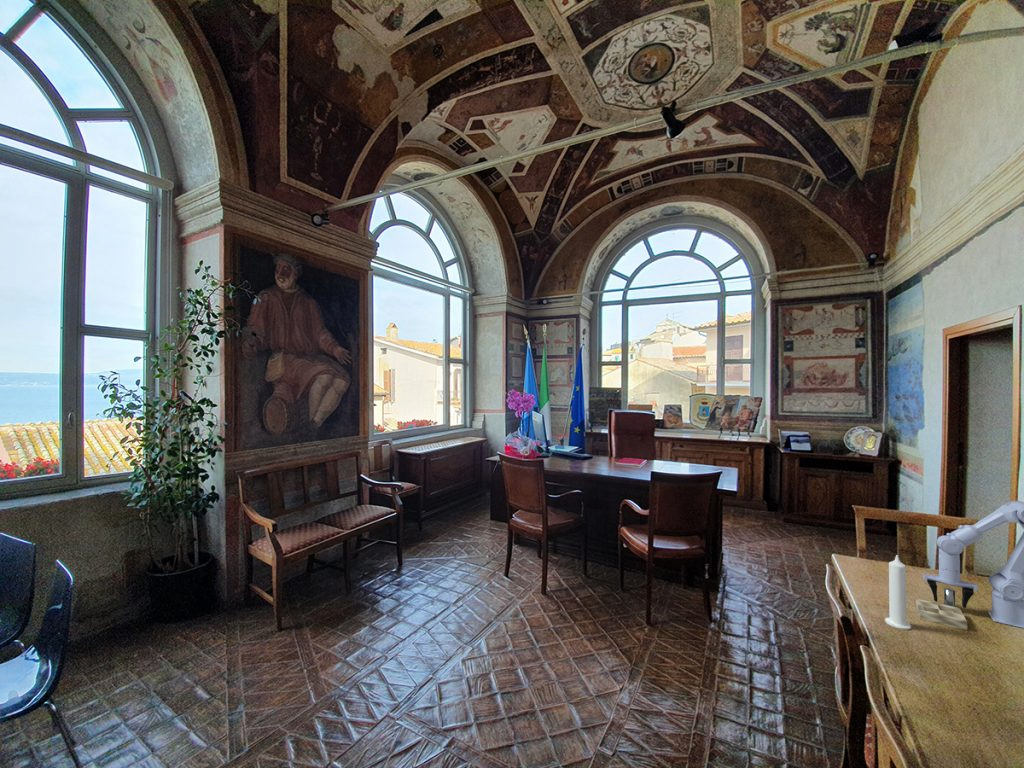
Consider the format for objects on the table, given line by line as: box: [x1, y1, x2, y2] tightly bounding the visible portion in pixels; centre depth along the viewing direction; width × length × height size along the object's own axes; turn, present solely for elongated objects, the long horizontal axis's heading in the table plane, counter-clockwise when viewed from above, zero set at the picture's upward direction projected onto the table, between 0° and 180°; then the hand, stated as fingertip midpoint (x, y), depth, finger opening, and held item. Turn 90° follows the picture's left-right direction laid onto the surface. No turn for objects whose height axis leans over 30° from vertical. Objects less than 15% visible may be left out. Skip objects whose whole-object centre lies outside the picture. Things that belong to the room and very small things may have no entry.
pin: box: [943, 586, 956, 607], centre depth 163 cm, size 3×3×8 cm
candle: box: [884, 554, 912, 631], centre depth 153 cm, size 7×7×25 cm
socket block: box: [915, 598, 968, 631], centre depth 157 cm, size 12×12×3 cm
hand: (949, 603), depth 163 cm, fingers open, 7 cm apart
